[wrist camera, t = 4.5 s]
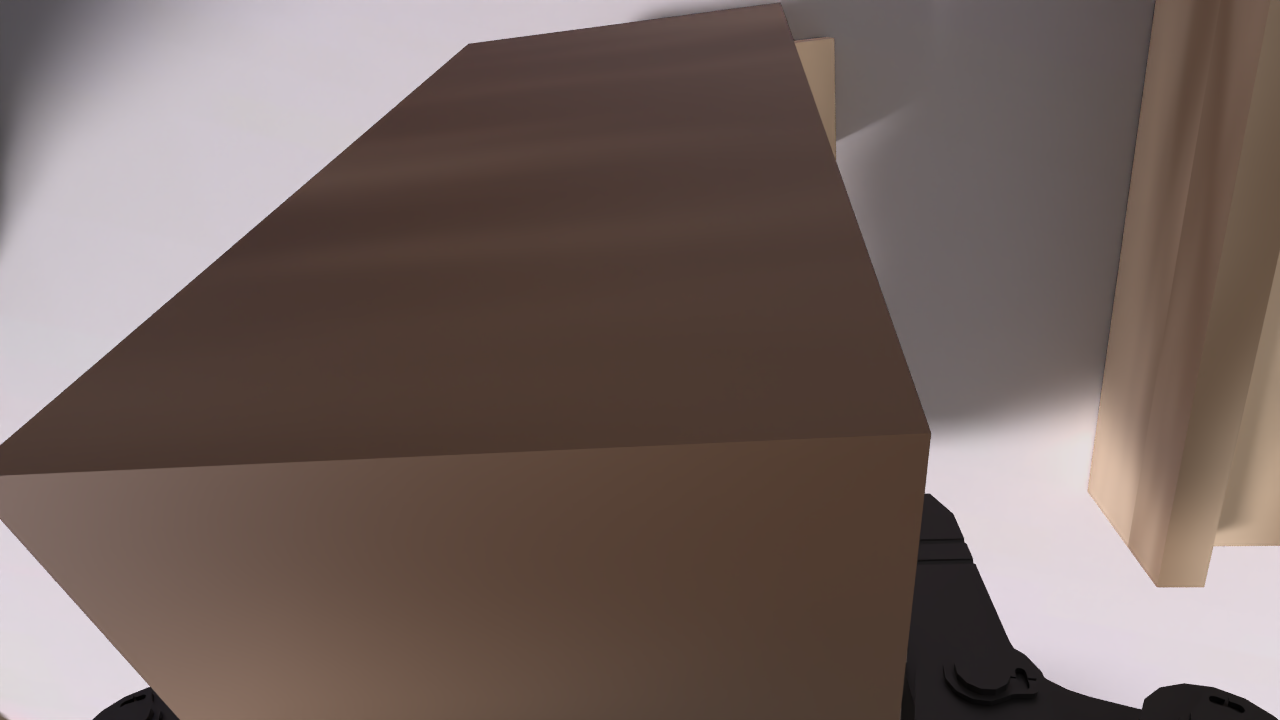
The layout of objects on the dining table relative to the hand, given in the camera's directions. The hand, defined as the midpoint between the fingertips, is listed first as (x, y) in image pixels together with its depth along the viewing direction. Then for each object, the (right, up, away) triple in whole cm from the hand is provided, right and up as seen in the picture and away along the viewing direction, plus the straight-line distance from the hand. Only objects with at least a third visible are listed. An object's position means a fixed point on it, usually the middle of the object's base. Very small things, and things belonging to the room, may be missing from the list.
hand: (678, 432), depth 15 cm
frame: (0, +1, 0) cm, 1 cm away
